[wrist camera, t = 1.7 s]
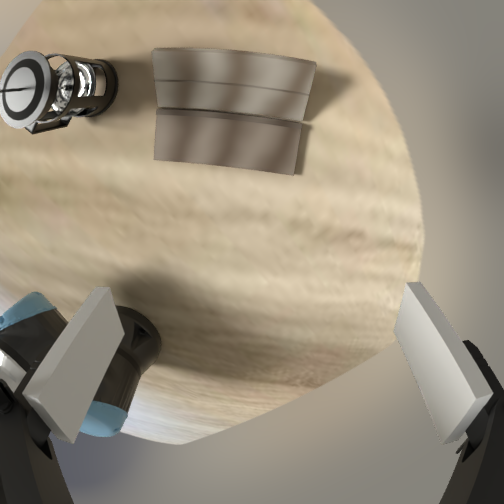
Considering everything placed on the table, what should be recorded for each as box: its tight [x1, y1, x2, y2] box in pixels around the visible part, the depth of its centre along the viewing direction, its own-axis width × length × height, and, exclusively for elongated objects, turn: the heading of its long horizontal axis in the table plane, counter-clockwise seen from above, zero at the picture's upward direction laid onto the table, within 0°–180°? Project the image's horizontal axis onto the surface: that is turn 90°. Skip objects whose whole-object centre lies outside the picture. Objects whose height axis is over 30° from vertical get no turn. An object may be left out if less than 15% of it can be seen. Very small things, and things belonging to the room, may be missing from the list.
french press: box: [0, 51, 118, 134], centre depth 28 cm, size 12×9×23 cm
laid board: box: [154, 109, 302, 176], centre depth 41 cm, size 20×8×2 cm, turn 83°
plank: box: [152, 48, 316, 121], centre depth 35 cm, size 20×9×1 cm
